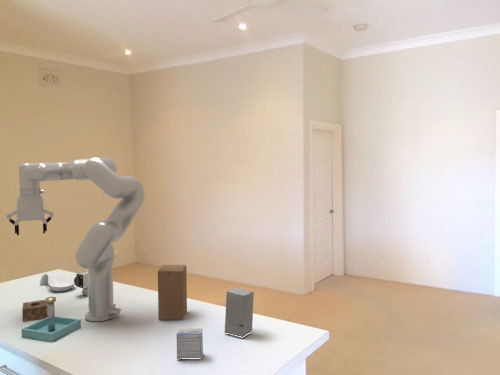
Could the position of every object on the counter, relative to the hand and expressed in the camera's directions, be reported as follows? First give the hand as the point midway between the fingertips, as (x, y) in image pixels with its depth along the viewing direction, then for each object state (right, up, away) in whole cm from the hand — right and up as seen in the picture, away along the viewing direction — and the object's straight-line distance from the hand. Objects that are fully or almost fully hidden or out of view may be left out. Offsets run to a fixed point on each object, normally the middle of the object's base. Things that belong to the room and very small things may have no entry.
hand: (31, 234), depth 170 cm
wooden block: (+60, -33, -3) cm, 68 cm away
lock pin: (+18, -34, -19) cm, 42 cm away
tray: (+18, -34, -19) cm, 43 cm away
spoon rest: (-8, -32, +37) cm, 50 cm away
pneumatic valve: (+13, -32, +26) cm, 43 cm away
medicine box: (+72, -35, -39) cm, 89 cm away
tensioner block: (+3, -34, -2) cm, 34 cm away
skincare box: (+87, -34, -21) cm, 96 cm away
